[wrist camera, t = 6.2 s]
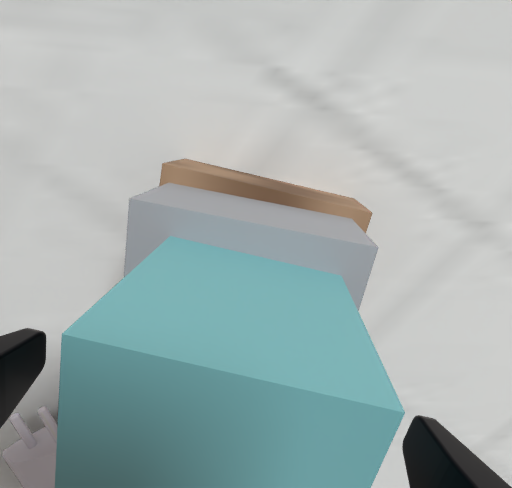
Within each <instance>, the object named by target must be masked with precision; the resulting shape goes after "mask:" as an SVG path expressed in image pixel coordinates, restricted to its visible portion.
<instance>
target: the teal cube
mask: <svg viewBox="0 0 512 488" xmlns="http://www.w3.org/2000/svg"><path fill="white" fill-rule="evenodd" d="M404 414H405V412H404V410H403V407H402V405H401V403H400V401H399V399H398V397H397V394H396V392H395V390H394V388H393V386H392V384H391V381H390V379H389V377H388V375H387V373H386V371H385V368H384V366H383V364H382V362H381V360H380V358H379V356H378V353H377V351H376V349H375V347H374V345H373V343H372V340H371V338H370V336H369V334H368V332H367V330H366V327H365V325H364V323H363V321H362V319H361V317H360V314H359V312H358V310H357V308H356V306H355V304H354V301H353V299H352V297H351V295H350V293H349V291H348V288H347V286H346V284H345V282H344V280H343V278H342V276H341V275H336V274H332V273H328V272H323V271H319V270H315V269H311V268H306V267H302V266H298V265H293V264H289V263H285V262H280V261H276V260H272V259H267V258H263V257H259V256H255V255H250V254H246V253H242V252H237V251H233V250H229V249H224V248H220V247H216V246H211V245H207V244H203V243H199V242H194V241H190V240H186V239H181V238H177V237H173V236H170V237H168V238H167V239H166V240H165V241H164V242H163V243H162V244H161V245H160V246H159V247H157V248H156V249H155V250H154V251H153V252H152V253H151V254H150V255H149V256H147V257H146V258H145V259H144V260H143V261H142V262H141V263H140V264H139V265H138V266H136V267H135V268H134V269H133V270H132V271H131V272H130V273H129V274H128V275H127V276H125V277H124V278H123V279H122V280H121V281H120V282H119V283H118V284H117V285H115V286H114V287H113V288H112V289H111V290H110V291H109V292H108V293H107V294H106V295H104V296H103V297H102V298H101V299H100V300H99V301H98V302H97V303H96V304H94V305H93V306H92V307H91V308H90V309H89V310H88V311H87V312H86V313H85V314H83V315H82V316H81V317H80V318H79V319H78V320H77V321H76V322H75V323H74V324H72V325H71V326H70V327H69V328H68V329H67V330H66V331H65V332H64V333H62V342H61V363H60V385H59V406H58V427H57V448H56V470H55V488H371V486H372V483H373V481H374V479H375V477H376V475H377V473H378V470H379V468H380V466H381V464H382V462H383V459H384V457H385V455H386V453H387V451H388V449H389V446H390V444H391V442H392V440H393V438H394V435H395V433H396V431H397V429H398V427H399V425H400V422H401V420H402V418H403V416H404Z"/></svg>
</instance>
